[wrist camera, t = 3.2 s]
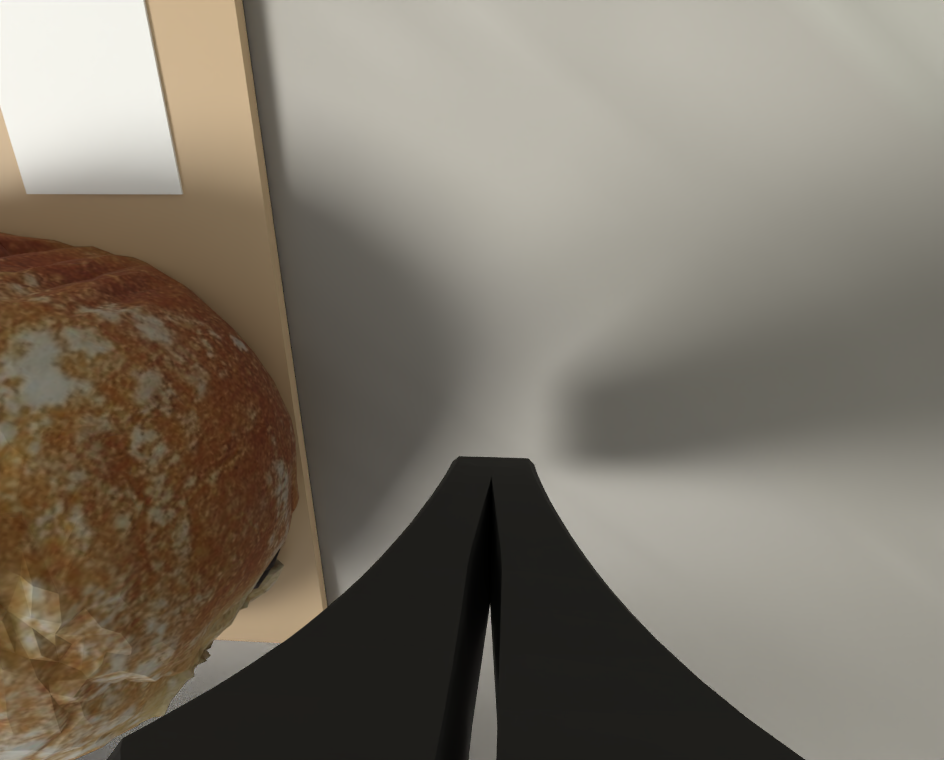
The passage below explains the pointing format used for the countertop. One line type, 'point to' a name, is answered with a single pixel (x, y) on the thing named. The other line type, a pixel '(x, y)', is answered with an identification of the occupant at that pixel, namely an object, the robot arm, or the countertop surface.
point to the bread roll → (124, 492)
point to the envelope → (159, 190)
